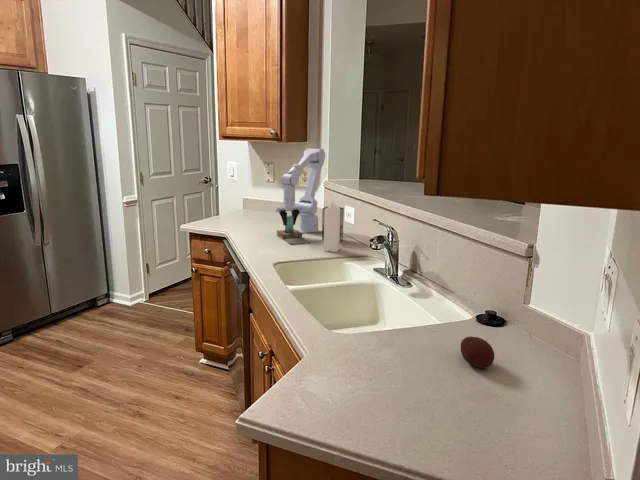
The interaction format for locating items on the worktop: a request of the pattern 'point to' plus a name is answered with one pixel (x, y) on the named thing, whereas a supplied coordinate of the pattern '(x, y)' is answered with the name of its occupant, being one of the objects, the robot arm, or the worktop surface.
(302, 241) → the mat
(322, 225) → the coffee box
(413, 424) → the worktop surface
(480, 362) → the potato
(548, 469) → the worktop surface
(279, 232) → the socket block
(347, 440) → the worktop surface
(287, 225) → the plug
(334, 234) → the milk
